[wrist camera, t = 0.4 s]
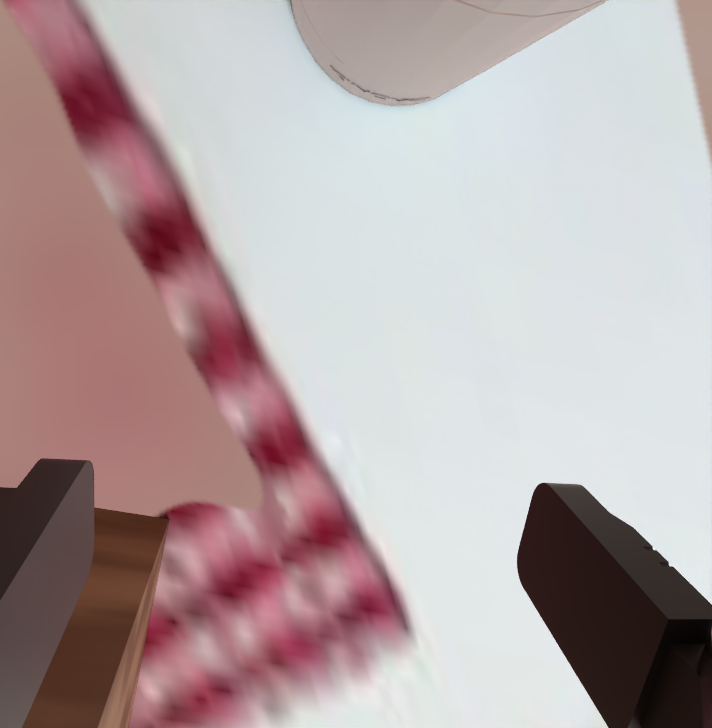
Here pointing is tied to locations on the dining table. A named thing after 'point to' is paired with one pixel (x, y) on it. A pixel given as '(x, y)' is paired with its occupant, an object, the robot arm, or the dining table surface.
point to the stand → (105, 629)
